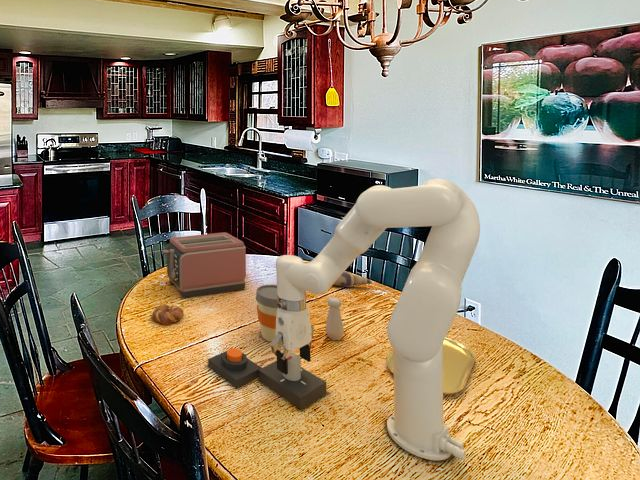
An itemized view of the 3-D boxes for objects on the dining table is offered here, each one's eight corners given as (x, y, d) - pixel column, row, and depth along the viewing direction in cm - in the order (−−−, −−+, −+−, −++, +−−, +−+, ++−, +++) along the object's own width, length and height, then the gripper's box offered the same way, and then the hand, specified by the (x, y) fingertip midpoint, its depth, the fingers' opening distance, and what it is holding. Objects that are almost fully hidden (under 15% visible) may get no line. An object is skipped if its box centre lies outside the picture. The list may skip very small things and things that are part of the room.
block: (261, 375, 114) (261, 361, 114) (236, 388, 108) (236, 373, 109) (232, 355, 124) (232, 342, 124) (208, 366, 118) (207, 352, 118)
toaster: (157, 283, 181) (156, 238, 181) (228, 273, 191) (227, 231, 192) (170, 301, 162) (170, 251, 162) (248, 289, 173) (248, 242, 173)
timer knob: (289, 367, 112) (289, 349, 113) (304, 376, 109) (304, 357, 109) (278, 374, 110) (278, 354, 110) (293, 383, 106) (293, 363, 106)
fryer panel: (326, 393, 106) (326, 381, 106) (300, 409, 100) (300, 397, 100) (284, 366, 118) (283, 356, 118) (258, 380, 112) (258, 369, 112)
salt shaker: (346, 342, 131) (345, 303, 131) (327, 340, 132) (327, 301, 132) (341, 333, 136) (341, 295, 137) (323, 331, 138) (323, 294, 138)
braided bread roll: (178, 309, 155) (178, 300, 155) (187, 323, 144) (187, 312, 144) (148, 313, 152) (148, 303, 152) (155, 327, 141) (155, 317, 141)
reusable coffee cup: (298, 333, 137) (298, 289, 137) (288, 350, 126) (287, 303, 127) (263, 323, 144) (263, 281, 144) (250, 338, 134) (250, 294, 134)
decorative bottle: (309, 285, 177) (308, 270, 177) (308, 279, 184) (308, 264, 185) (373, 292, 169) (373, 277, 169) (370, 286, 176) (370, 270, 176)
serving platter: (377, 375, 114) (377, 370, 114) (411, 330, 138) (411, 326, 138) (458, 409, 100) (457, 402, 100) (479, 352, 124) (479, 347, 124)
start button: (245, 359, 116) (245, 353, 116) (234, 364, 113) (234, 358, 113) (234, 352, 119) (234, 346, 119) (223, 357, 117) (223, 351, 117)
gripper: (282, 316, 101) (284, 384, 101) (322, 298, 111) (325, 360, 110) (259, 306, 107) (262, 370, 107) (299, 290, 117) (302, 349, 117)
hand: (294, 365), depth 109 cm, fingers open, 9 cm apart
